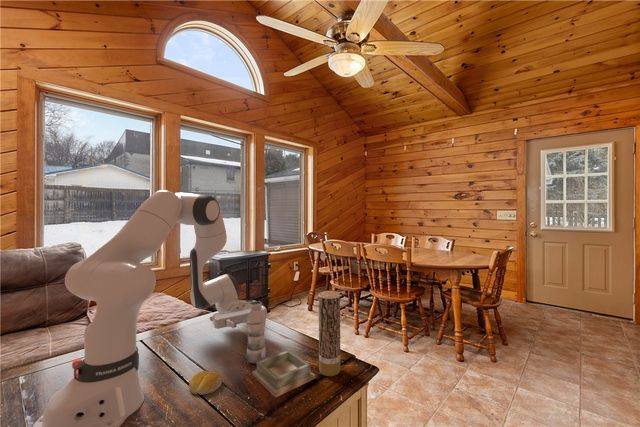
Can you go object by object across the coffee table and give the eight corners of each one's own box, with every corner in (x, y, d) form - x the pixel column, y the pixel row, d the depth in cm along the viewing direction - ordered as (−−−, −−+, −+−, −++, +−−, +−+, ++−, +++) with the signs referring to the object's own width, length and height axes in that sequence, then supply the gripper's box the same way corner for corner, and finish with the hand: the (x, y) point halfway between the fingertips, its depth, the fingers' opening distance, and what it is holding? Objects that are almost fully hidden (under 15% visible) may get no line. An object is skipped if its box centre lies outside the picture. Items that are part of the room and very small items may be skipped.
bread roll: (201, 377, 90) (201, 364, 90) (226, 381, 88) (226, 368, 88) (181, 393, 82) (181, 379, 82) (208, 398, 80) (208, 384, 80)
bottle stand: (275, 397, 80) (275, 382, 80) (252, 375, 91) (252, 362, 91) (315, 378, 89) (315, 364, 89) (289, 360, 100) (289, 348, 100)
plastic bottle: (244, 358, 101) (244, 301, 100) (263, 354, 104) (263, 299, 103) (248, 368, 95) (247, 307, 95) (268, 363, 98) (268, 304, 97)
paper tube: (340, 366, 96) (340, 291, 95) (340, 378, 89) (339, 297, 89) (320, 365, 96) (319, 290, 96) (318, 377, 90) (317, 296, 89)
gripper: (208, 309, 110) (218, 320, 99) (258, 299, 122) (272, 308, 111) (208, 325, 111) (218, 338, 99) (258, 314, 122) (272, 325, 111)
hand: (247, 322), depth 105 cm, fingers open, 8 cm apart
